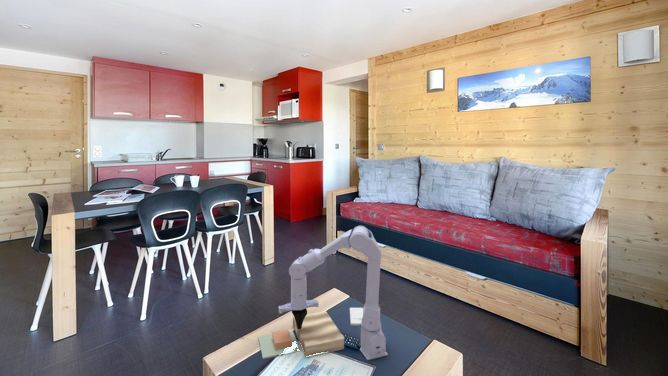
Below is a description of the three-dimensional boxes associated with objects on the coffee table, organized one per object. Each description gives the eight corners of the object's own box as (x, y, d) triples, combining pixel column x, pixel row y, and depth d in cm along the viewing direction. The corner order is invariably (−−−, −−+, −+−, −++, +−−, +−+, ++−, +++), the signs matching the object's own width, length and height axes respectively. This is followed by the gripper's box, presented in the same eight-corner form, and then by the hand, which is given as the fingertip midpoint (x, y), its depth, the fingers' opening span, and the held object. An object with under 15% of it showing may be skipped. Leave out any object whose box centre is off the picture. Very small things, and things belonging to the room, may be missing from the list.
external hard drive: (367, 311, 138) (371, 327, 125) (349, 311, 138) (350, 326, 125) (368, 307, 138) (371, 323, 125) (349, 307, 138) (350, 323, 125)
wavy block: (344, 348, 111) (344, 338, 110) (306, 357, 106) (306, 346, 105) (325, 319, 129) (325, 310, 129) (292, 326, 124) (292, 316, 124)
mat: (300, 351, 109) (300, 349, 109) (262, 359, 105) (262, 357, 105) (292, 332, 120) (292, 330, 120) (258, 339, 116) (258, 337, 116)
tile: (275, 343, 108) (275, 350, 109) (292, 340, 110) (292, 346, 111) (272, 332, 115) (272, 338, 115) (288, 329, 117) (288, 335, 117)
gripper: (314, 285, 119) (314, 318, 121) (276, 290, 114) (277, 325, 116) (320, 293, 112) (320, 328, 114) (280, 299, 107) (280, 336, 109)
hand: (298, 327), depth 114 cm, fingers closed
